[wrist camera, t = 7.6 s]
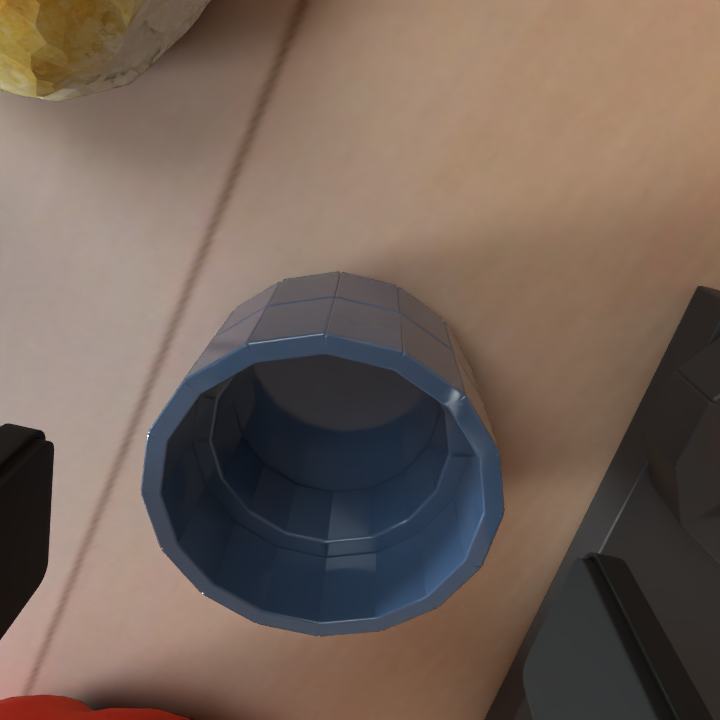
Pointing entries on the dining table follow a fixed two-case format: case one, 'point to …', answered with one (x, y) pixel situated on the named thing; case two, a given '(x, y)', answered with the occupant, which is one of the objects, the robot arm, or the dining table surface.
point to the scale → (661, 509)
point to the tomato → (72, 710)
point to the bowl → (326, 460)
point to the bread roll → (85, 43)
